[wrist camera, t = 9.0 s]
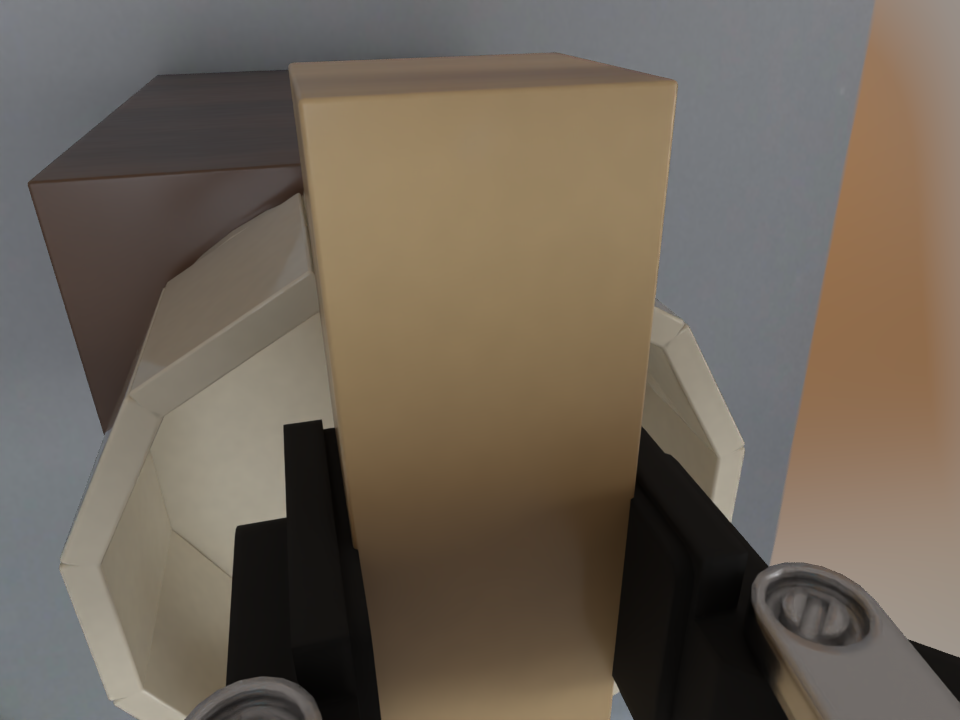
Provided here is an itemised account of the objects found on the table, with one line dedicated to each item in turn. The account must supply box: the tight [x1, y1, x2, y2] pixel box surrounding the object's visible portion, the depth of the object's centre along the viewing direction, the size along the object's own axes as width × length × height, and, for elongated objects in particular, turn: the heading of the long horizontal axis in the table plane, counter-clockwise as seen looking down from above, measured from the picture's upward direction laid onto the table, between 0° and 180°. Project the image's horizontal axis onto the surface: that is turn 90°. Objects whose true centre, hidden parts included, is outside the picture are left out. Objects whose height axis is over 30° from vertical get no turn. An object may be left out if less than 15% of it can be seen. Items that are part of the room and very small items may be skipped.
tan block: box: [288, 53, 678, 720], centre depth 11 cm, size 18×3×3 cm, turn 1°
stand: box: [28, 70, 304, 435], centre depth 25 cm, size 13×13×18 cm
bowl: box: [59, 193, 745, 720], centre depth 16 cm, size 12×12×5 cm
